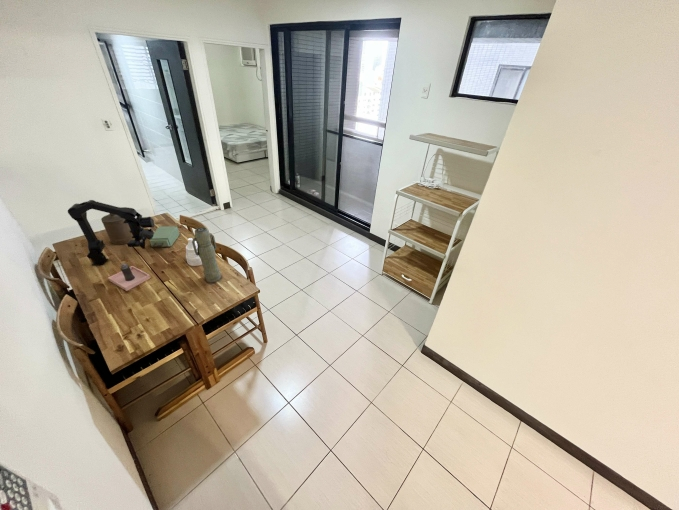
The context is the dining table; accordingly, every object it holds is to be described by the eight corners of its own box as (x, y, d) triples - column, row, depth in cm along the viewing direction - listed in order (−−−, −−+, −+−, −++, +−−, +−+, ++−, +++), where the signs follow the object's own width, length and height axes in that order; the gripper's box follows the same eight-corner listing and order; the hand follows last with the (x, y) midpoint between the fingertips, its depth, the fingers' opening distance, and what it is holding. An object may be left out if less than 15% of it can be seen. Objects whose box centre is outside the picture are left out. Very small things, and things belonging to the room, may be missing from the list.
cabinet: (170, 246, 196) (167, 238, 192) (152, 246, 195) (148, 238, 191) (179, 234, 211) (177, 226, 207) (162, 234, 209) (159, 226, 205)
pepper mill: (124, 278, 165) (117, 263, 159) (134, 275, 168) (127, 260, 162) (126, 282, 162) (118, 267, 156) (135, 279, 165) (128, 264, 159)
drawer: (166, 249, 192) (164, 243, 189) (149, 249, 190) (146, 243, 187) (177, 234, 208) (175, 228, 205) (161, 235, 207) (159, 228, 204)
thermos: (226, 276, 172) (215, 228, 153) (208, 286, 164) (194, 236, 145) (218, 271, 177) (206, 223, 157) (200, 279, 169) (186, 230, 149)
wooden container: (133, 232, 209) (122, 205, 197) (138, 240, 201) (126, 213, 188) (109, 238, 201) (96, 211, 188) (113, 247, 192) (99, 219, 180)
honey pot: (203, 266, 180) (197, 243, 170) (183, 265, 179) (176, 242, 169) (211, 255, 190) (205, 233, 180) (192, 254, 190) (186, 232, 180)
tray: (109, 280, 163) (107, 277, 162) (134, 268, 174) (132, 265, 172) (126, 291, 157) (125, 287, 155) (150, 277, 167) (149, 274, 166)
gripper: (142, 235, 165) (150, 256, 174) (155, 221, 181) (162, 241, 189) (122, 235, 164) (131, 256, 173) (137, 221, 179) (145, 241, 188)
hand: (143, 248), depth 181 cm, fingers closed
